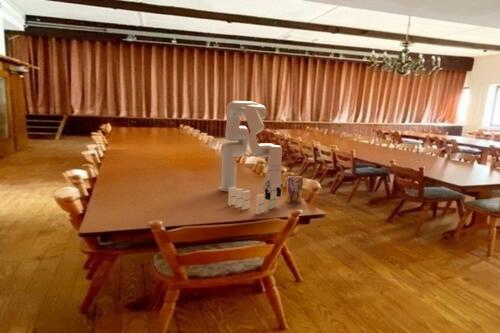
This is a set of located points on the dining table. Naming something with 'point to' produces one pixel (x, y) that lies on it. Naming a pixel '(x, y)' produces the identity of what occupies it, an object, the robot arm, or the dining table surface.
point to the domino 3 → (245, 200)
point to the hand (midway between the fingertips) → (272, 197)
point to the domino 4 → (260, 203)
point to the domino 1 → (231, 196)
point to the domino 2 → (238, 197)
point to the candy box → (294, 189)
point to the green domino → (272, 199)
